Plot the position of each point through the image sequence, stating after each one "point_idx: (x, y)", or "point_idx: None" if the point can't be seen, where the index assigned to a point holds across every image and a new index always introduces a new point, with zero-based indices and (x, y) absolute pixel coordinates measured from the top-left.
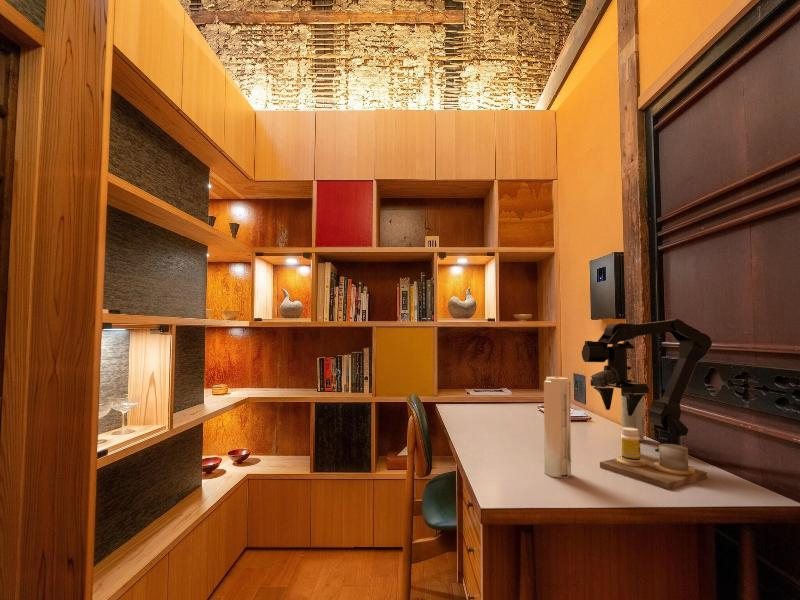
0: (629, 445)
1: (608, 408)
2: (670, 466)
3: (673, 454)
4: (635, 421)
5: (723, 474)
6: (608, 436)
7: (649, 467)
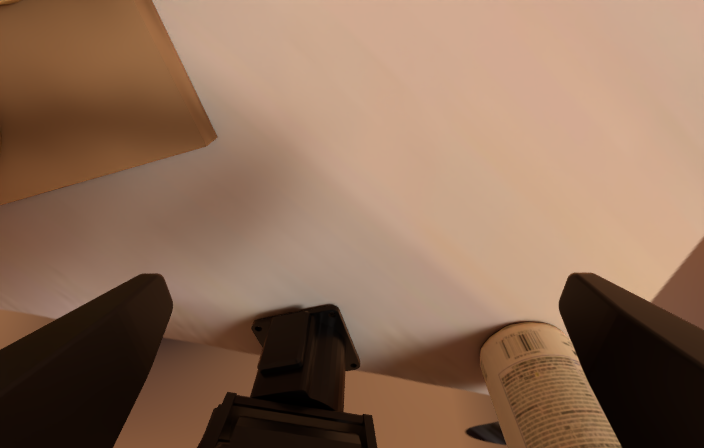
0: None
1: (572, 306)
2: None
3: None
4: (522, 430)
5: (31, 301)
6: None
7: None
